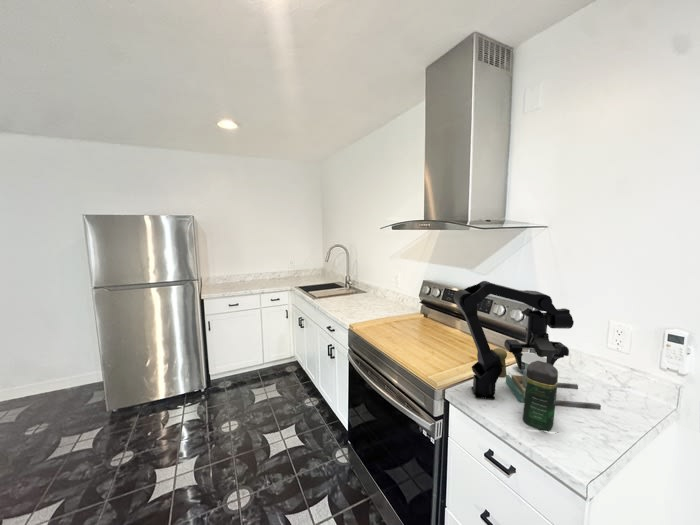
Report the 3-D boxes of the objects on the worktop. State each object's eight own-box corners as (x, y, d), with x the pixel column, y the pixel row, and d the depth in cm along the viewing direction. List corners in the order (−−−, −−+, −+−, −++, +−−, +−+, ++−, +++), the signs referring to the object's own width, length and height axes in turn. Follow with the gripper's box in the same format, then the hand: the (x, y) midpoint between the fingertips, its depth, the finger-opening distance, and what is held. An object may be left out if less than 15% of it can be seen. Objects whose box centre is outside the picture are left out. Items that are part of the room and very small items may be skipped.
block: (527, 394, 102) (528, 375, 101) (522, 387, 107) (523, 369, 106) (541, 395, 101) (543, 376, 101) (535, 388, 106) (537, 370, 105)
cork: (508, 379, 115) (510, 353, 113) (492, 378, 116) (494, 352, 114) (503, 372, 120) (505, 347, 119) (488, 371, 122) (489, 345, 120)
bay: (516, 406, 98) (516, 396, 97) (499, 381, 113) (500, 372, 113) (603, 414, 93) (604, 403, 93) (573, 387, 109) (574, 378, 109)
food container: (530, 364, 127) (531, 350, 126) (556, 378, 116) (557, 363, 115) (507, 368, 124) (508, 353, 123) (532, 383, 112) (533, 366, 112)
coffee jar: (551, 436, 84) (557, 375, 81) (520, 424, 89) (524, 367, 86) (555, 419, 91) (560, 363, 89) (525, 409, 96) (530, 356, 94)
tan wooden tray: (522, 400, 100) (523, 389, 99) (510, 384, 110) (511, 374, 109) (554, 403, 98) (555, 391, 98) (540, 386, 108) (541, 376, 108)
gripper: (517, 334, 95) (514, 380, 97) (581, 338, 92) (576, 384, 94) (505, 323, 106) (502, 364, 108) (561, 326, 103) (558, 368, 105)
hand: (533, 370), depth 103 cm, fingers open, 9 cm apart
